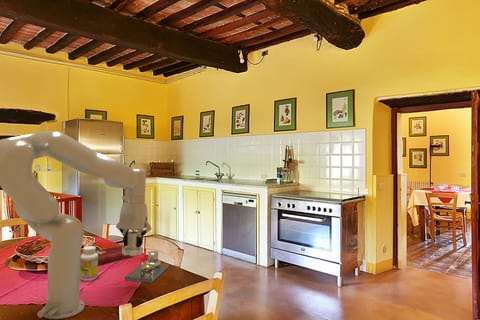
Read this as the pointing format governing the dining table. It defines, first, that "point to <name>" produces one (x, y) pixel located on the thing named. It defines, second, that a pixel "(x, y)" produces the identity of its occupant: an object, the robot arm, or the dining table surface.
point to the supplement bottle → (89, 264)
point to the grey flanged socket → (132, 245)
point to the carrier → (148, 269)
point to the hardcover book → (111, 254)
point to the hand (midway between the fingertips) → (132, 245)
